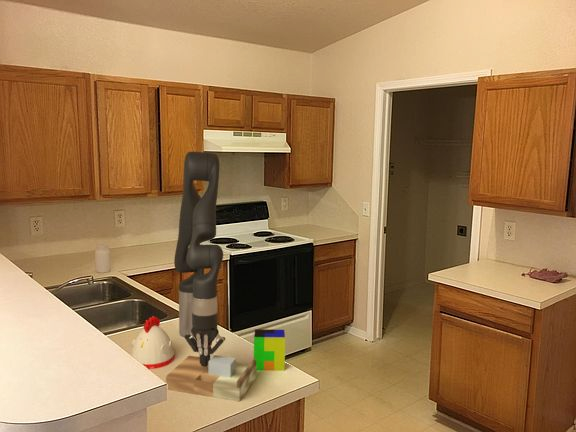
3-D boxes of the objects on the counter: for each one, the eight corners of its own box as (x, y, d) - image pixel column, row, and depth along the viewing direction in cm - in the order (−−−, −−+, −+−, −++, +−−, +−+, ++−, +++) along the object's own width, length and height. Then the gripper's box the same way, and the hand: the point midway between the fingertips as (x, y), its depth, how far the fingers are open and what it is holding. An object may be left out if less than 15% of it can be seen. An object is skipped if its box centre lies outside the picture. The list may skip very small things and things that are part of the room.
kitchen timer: (122, 364, 157) (120, 320, 155) (147, 348, 170) (147, 307, 168) (158, 372, 153) (157, 327, 151) (181, 355, 166) (181, 313, 163)
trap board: (188, 367, 157) (188, 349, 156) (256, 377, 151) (256, 359, 150) (166, 389, 142) (165, 370, 141) (239, 401, 136) (239, 381, 136)
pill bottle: (92, 272, 266) (91, 246, 264) (100, 269, 274) (99, 243, 272) (105, 273, 265) (105, 246, 263) (113, 269, 273) (112, 243, 271)
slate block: (214, 367, 148) (214, 355, 148) (235, 370, 146) (236, 358, 146) (208, 373, 144) (208, 361, 143) (230, 377, 142) (230, 364, 141)
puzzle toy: (283, 357, 166) (284, 329, 164) (284, 370, 156) (285, 341, 154) (254, 357, 165) (254, 329, 164) (253, 370, 156) (253, 341, 154)
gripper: (230, 309, 145) (229, 363, 148) (190, 304, 149) (190, 357, 151) (220, 317, 138) (220, 374, 141) (178, 312, 142) (179, 367, 144)
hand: (204, 365), depth 146 cm, fingers closed
